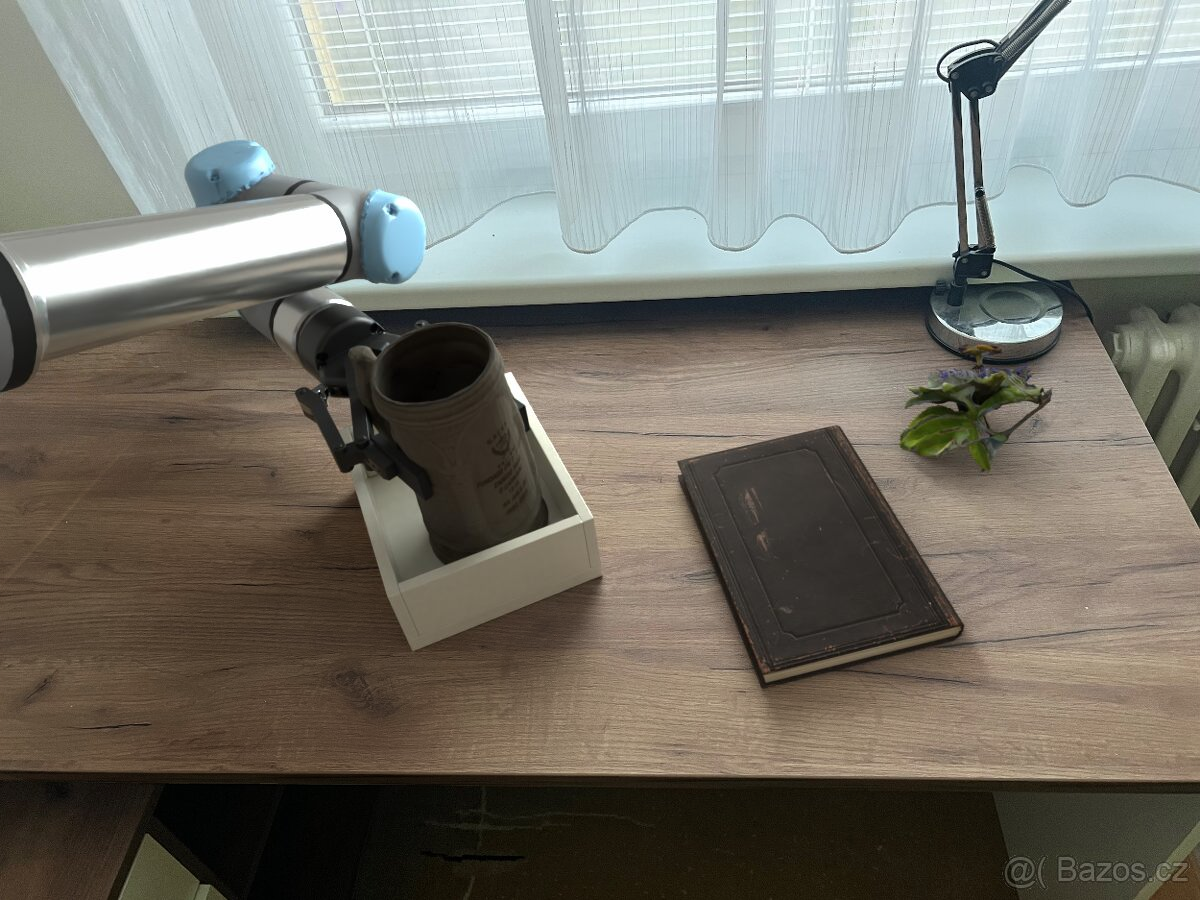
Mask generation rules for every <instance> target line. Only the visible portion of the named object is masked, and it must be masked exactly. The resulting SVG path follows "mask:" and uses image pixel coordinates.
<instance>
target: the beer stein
mask: <svg viewBox="0 0 1200 900" xmlns="http://www.w3.org/2000/svg"><path fill="white" fill-rule="evenodd" d="M399 336H400V337H399V338H397V339H396V340H394V341H393V342H392V343H390V344H389V345H387V346H386V347H385V348H384V350H383V351H382V352H381V353H380V354H379V355H378V357H376V356H375V355H374V353H373V352H372V350H371V349H370V348H369V347H367V346H356V347H353V348H351V349H350V350H349V352H348V355H349V358H350V360H351V362H352V364H353V366H354V371H355V378H356V389H357V393H358V396H359V398H360V401H361V403H362V404H363V405H364V406H365V407H366V409H367V412H368V414H369V417H370V419H371V421H372V423H373V425H374V426H375V428H376V429H377V431H378V432H379V433H380V434H381V435H382V436H384V437H385V438H386V439H387V440H388V441H389V442H391V443H392V444H393V445H394V446H395V447H396V448H398V449H399V450H400V451H401V452H402V453H404V454H405V455H406V456H407V457H408V458H409V459H410V460H411V461H413V462H414V463H415V464H416V465H418V466H419V467H420V468H421V469H422V470H423V471H425V473H426V476H427V479H428V482H429V485H430V488H431V490H432V493H433V497H431V498H430V499H428V500H427V501H425V500H424V499H422V498H421V497H420V496H419V495H418V494H417V493H416V492H415V491H414V493H415V495H416V498H417V502H418V505H419V508H420V511H421V514H422V518H423V522H424V525H425V527H426V529H427V531H428V533H429V542H430V544H431V547H432V550H433V552H434V554H435V555H436V557H437V558H438V559H439V560H440V561H441V562H442V563H443V564H444V565H447V564H450V563H453V562H455V561H458V560H460V559H463V558H466V557H468V556H471V555H473V554H476V553H479V552H481V551H484V550H487V549H489V548H492V547H494V546H497V545H500V544H502V543H505V542H507V541H510V540H513V539H515V538H518V537H520V536H523V535H526V534H528V533H531V532H533V531H536V530H539V529H541V528H544V527H547V526H548V508H547V505H546V502H545V500H544V499H543V497H542V492H541V487H540V483H539V476H538V472H537V469H536V466H537V465H536V462H535V458H534V455H533V453H532V451H531V448H530V445H529V442H528V439H527V436H526V432H525V427H524V423H523V420H522V417H521V414H520V411H519V409H518V406H517V404H516V403H515V401H514V400H513V398H512V396H511V393H510V389H509V386H508V383H507V380H506V377H505V374H506V372H505V363H504V359H503V357H502V354H501V352H500V351H499V349H497V346H496V344H495V343H494V341H493V338H492V337H491V336H490V335H489V334H488V333H487V332H486V331H484V330H483V329H481V328H480V327H478V326H475V325H473V324H469V323H463V322H456V321H449V322H447V321H446V322H436V323H431V324H430V325H426V326H423V327H420V328H417V329H415V328H414V329H411V330H410V331H408V332H405V333H403V334H401V335H399Z"/></svg>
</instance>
